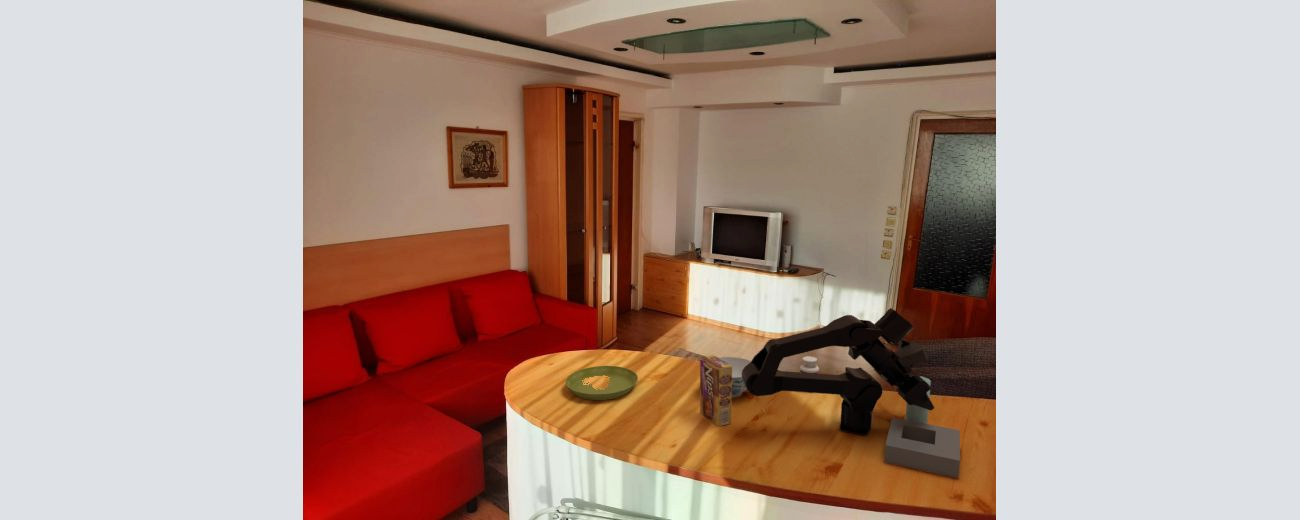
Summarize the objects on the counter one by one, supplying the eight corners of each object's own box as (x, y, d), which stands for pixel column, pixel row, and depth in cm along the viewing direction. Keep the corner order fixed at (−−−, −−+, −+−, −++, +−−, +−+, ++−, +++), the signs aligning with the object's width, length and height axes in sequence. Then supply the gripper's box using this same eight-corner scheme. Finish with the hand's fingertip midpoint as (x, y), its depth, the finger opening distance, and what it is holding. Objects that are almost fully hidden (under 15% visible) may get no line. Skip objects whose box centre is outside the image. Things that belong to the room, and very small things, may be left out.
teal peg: (904, 428, 135) (907, 381, 133) (905, 420, 139) (909, 374, 137) (926, 433, 133) (930, 385, 130) (927, 424, 137) (931, 378, 135)
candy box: (732, 423, 139) (733, 365, 136) (718, 427, 137) (718, 368, 135) (713, 409, 147) (713, 354, 144) (699, 413, 145) (699, 357, 142)
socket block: (884, 462, 121) (885, 445, 120) (891, 433, 133) (892, 417, 132) (958, 478, 115) (960, 460, 114) (958, 446, 127) (959, 430, 126)
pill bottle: (819, 393, 155) (820, 362, 154) (799, 391, 157) (800, 361, 155) (817, 385, 161) (818, 355, 159) (798, 384, 162) (799, 354, 160)
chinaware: (746, 409, 147) (746, 381, 146) (694, 397, 154) (694, 371, 153) (764, 387, 160) (765, 362, 158) (716, 378, 167) (716, 353, 166)
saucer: (651, 383, 165) (651, 373, 164) (609, 411, 148) (609, 400, 147) (596, 370, 176) (595, 360, 175) (550, 394, 159) (550, 383, 158)
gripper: (924, 347, 122) (971, 394, 124) (889, 321, 141) (930, 362, 143) (886, 382, 124) (932, 427, 126) (856, 352, 142) (896, 392, 144)
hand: (923, 400), depth 135 cm, fingers open, 9 cm apart
